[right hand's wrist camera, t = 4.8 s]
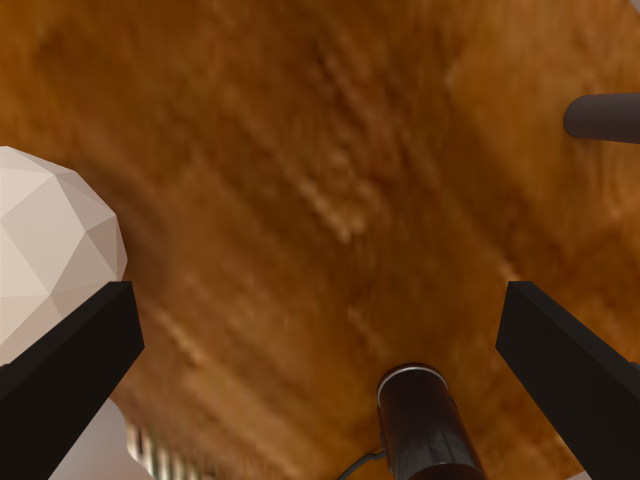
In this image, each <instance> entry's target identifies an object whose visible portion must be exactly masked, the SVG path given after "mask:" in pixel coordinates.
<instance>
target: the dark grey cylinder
mask: <svg viewBox="0 0 640 480" xmlns="http://www.w3.org/2000/svg"><path fill="white" fill-rule="evenodd" d="M564 126H565V129H566V131H567V132H568V133H569V134H570V135H572V136H574V137H580V138H589V139H598V140H606V141H615V142H624V143H633V144H640V92H639V93H619V94H599V95H585V96H582V97H580V98H578V99H576V100H575V101H574V102H573V103H571V105H570V106H569V107H568V109H567V111H566V113H565V116H564Z"/></svg>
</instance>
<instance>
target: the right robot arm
mask: <svg viewBox="0 0 640 480" xmlns="http://www.w3.org/2000/svg"><path fill="white" fill-rule="evenodd" d="M144 348H145V346H144V341H143V336H142V331H141V326H140V321H139V317H138V312H137V307H136V302H135V297H134V292H133V287H132V282H131V281H109V282H108V283H107V284H105V285H104V286H103V287H102V288H101V289H99V290H98V291H97V292H96V293H94V294H93V295H92V296H91V297H90V298H88V299H87V300H86V301H85V302H84V303H82V304H81V305H80V306H79V307H77V308H76V309H75V310H74V311H73V312H71V313H70V314H69V315H68V316H66V317H65V318H64V319H63V320H62V321H60V322H59V323H58V324H57V325H55V326H54V327H53V328H52V329H51V330H49V331H48V332H47V333H46V334H45V335H43V336H42V337H41V338H40V339H38V340H37V341H36V342H35V343H34V344H32V345H31V346H30V347H29V348H27V349H26V350H25V351H24V352H23V353H21V354H20V355H19V356H18V357H17V358H15V359H14V360H13V361H12V362H10V363H9V364H4V365H2V366H0V480H48V479H49V477H50V476H51V475H52V473H53V472H54V471H55V469H56V468H57V466H58V465H59V464H60V462H61V461H62V460H63V458H64V457H65V456H66V454H67V453H68V451H69V450H70V449H71V447H72V446H73V445H74V443H75V442H76V441H77V439H78V438H79V436H80V435H81V434H82V432H83V431H84V430H85V428H86V427H87V426H88V424H89V423H90V421H91V420H92V419H93V417H94V416H95V415H96V413H97V412H98V410H99V409H100V408H101V406H102V405H103V404H104V402H105V401H106V400H107V398H108V397H109V396H110V394H111V393H112V391H113V390H114V389H115V387H116V386H117V385H118V383H119V382H120V381H121V379H122V378H123V376H124V375H125V374H126V372H127V371H128V370H129V368H130V367H131V366H132V364H133V363H134V361H135V360H136V359H137V357H138V356H139V355H140V353H141V352H142V351H143V349H144ZM495 348H496V349H497V351H498V352H499V353H500V355H501V356H502V357H503V359H504V360H505V361H506V363H507V364H508V366H509V367H510V368H511V370H512V371H513V372H514V374H515V375H516V376H517V378H518V379H519V381H520V382H521V383H522V385H523V386H524V387H525V389H526V390H527V391H528V393H529V394H530V396H531V397H532V398H533V400H534V401H535V402H536V404H537V405H538V406H539V408H540V409H541V411H542V412H543V413H544V415H545V416H546V417H547V419H548V420H549V421H550V423H551V424H552V426H553V427H554V428H555V430H556V431H557V432H558V434H559V435H560V436H561V438H562V439H563V441H564V442H565V443H566V445H567V446H568V447H569V449H570V450H571V451H572V453H573V454H574V456H575V457H576V458H577V460H578V461H579V462H580V464H581V465H582V466H583V468H584V469H585V471H586V472H587V473H588V475H589V476H590V477H591V479H592V480H640V365H639V364H637V363H635V362H628V361H627V360H626V359H625V358H623V357H622V356H621V355H620V354H619V353H617V352H616V351H615V350H614V349H613V348H611V347H610V346H609V345H608V344H606V343H605V342H604V341H603V340H602V339H600V338H599V337H598V336H597V335H595V334H594V333H593V332H592V331H591V330H589V329H588V328H587V327H586V326H585V325H583V324H582V323H581V322H580V321H578V320H577V319H576V318H575V317H574V316H572V315H571V314H570V313H569V312H567V311H566V310H565V309H564V308H563V307H561V306H560V305H559V304H558V303H556V302H555V301H554V300H553V299H552V298H550V297H549V296H548V295H547V294H546V293H544V292H543V291H542V290H541V289H539V288H538V287H537V286H536V285H535V284H533V283H532V282H531V281H509V282H508V287H507V292H506V297H505V302H504V307H503V312H502V317H501V321H500V326H499V331H498V336H497V341H496V346H495Z"/></svg>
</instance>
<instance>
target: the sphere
mask: <svg viewBox="0 0 640 480" xmlns="http://www.w3.org/2000/svg"><path fill="white" fill-rule="evenodd" d="M127 261H128V259H127V255H126V251H125V247H124V244H123V240H122V236H121V232H120V228H119V224H118V220H117V216H116V214H115V213H114V212H113V211H112V210H111V209H110V208H109V207H108V206H107V205H106V203H105V202H104V201H103V200H102V199H101V198H100V197H99V196H98V195H97V194H96V193H95V192H94V191H93V190H92V188H91V187H90V186H89V185H88V184H87V183H86V182H85V181H84V180H83V179H82V178H81V177H80V176H79V175H78V174H77V172H75V171H73V170H70V169H67V168H65V167H62V166H59V165H57V164H54V163H51V162H49V161H46V160H43V159H40V158H38V157H35V156H32V155H30V154H27V153H24V152H22V151H19V150H16V149H14V148H11V147H8V146H5V147H0V366H2V365H4V364H9V363H10V362H12V361H13V360H14V359H15V358H17V357H18V356H19V355H20V354H21V353H23V352H24V351H25V350H26V349H27V348H29V347H30V346H31V345H32V344H34V343H35V342H36V341H37V340H38V339H40V338H41V337H42V336H43V335H45V334H46V333H47V332H48V331H49V330H51V329H52V328H53V327H54V326H55V325H57V324H58V323H59V322H60V321H62V320H63V319H64V318H65V317H66V316H68V315H69V314H70V313H71V312H73V311H74V310H75V309H76V308H77V307H79V306H80V305H81V304H82V303H84V302H85V301H86V300H87V299H88V298H90V297H91V296H92V295H93V294H94V293H96V292H97V291H98V290H99V289H101V288H102V287H103V286H104V285H105V284H107V283H108V282H109V281H122V277H123V274H124V271H125V267H126V264H127Z"/></svg>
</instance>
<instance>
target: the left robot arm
mask: <svg viewBox="0 0 640 480" xmlns="http://www.w3.org/2000/svg"><path fill="white" fill-rule="evenodd" d="M377 398H378V403H379V405H378V407H377V411H378V416H379V421H380V427H381V431H380V438H381V444H382V449H383V451H382V452H380V453H378V454H373V453H371V454H368V455H366V456H364V457H362V458H361V459H360V460H358V461H357V462H356V463H354V464H353V465H352V466H351V467H350V468H349V469H347V470H346V471H345V472H344V473H343V474H342V475H341V477H340V478H339V479H338V480H345V479H346V478H347V477H348V476H349V475H350V474H351V473H352V472H353V471H354V470H355V469H357V468H358V467H359V466H361V465H362V464H363V463H365V462H366V461H368V460H370V459H374V460H379V459H381V458H383V457H385V456H386V458H387V463H388V469H389V471H390V472H391V473H392V474H393V475H394V480H489V479H488V477H487V475H486V472H485V470H484V468H483V466H482V464H481V461H480V459H479V457H478V455H477V453H476V450H475V448H474V446H473V444H472V442H471V439H470V437H469V435H468V433H467V431H466V428H465V426H464V424H463V422H462V420H461V417H460V415H459V412H458V410H457V409H456V408H457V407H456V404H454V403H455V401H454V402H453V400H454V399H453V400H452V398H453V397H452V398H451V395H450V393H449V391H448V387H447V385H446V383H445V380H444V378H443V377H442V375H441V374H440V373H439V372H438V371H437V370H435V369H434V368H432V367H430V366H427V365H424V364H417V363H412V364H405V365H401V366H398V367H396V368H394V369H392V370H391V371H389V372H388V373H387V374H386V375H385V376H384V377H383V378H382V379H381V381H380V383H379V385H378V388H377Z"/></svg>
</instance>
